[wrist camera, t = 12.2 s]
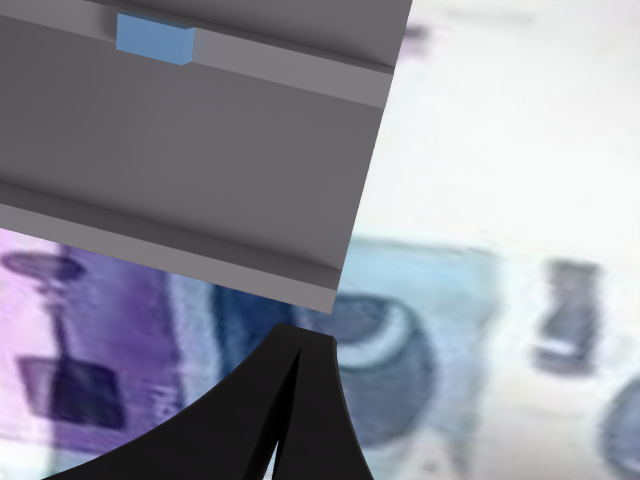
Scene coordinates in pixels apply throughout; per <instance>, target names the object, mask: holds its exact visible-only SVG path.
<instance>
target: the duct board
mask: <svg viewBox="0 0 640 480" xmlns="http://www.w3.org/2000/svg"><path fill="white" fill-rule="evenodd" d="M411 4H412V0H0V228H3V229H7V230H11V231H14V232H18V233H22V234H26V235H30V236H34V237H37V238H41V239H45V240H49V241H53V242H57V243H60V244H64V245H68V246H72V247H76V248H79V249H83V250H87V251H91V252H95V253H99V254H102V255H106V256H110V257H114V258H118V259H121V260H125V261H129V262H133V263H137V264H141V265H144V266H148V267H152V268H156V269H160V270H163V271H167V272H171V273H175V274H179V275H183V276H186V277H190V278H194V279H198V280H202V281H205V282H209V283H213V284H217V285H221V286H225V287H228V288H232V289H236V290H240V291H244V292H248V293H251V294H255V295H259V296H263V297H267V298H270V299H274V300H278V301H282V302H286V303H290V304H293V305H297V306H301V307H305V308H309V309H312V310H316V311H320V312H324V313H328V314H331V312H332V308H333V304H334V301H335V297H336V293H337V289H338V285H339V280H340V276H341V272H342V268H343V264H344V261H345V257H346V253H347V249H348V245H349V241H350V238H351V234H352V230H353V226H354V222H355V218H356V215H357V211H358V207H359V203H360V199H361V195H362V192H363V188H364V184H365V180H366V176H367V172H368V169H369V165H370V161H371V157H372V153H373V149H374V146H375V142H376V138H377V134H378V130H379V127H380V123H381V119H382V115H383V111H384V109H385V106H386V102H387V98H388V94H389V90H390V86H391V83H392V79H393V75H394V70H395V65H396V61H397V58H398V54H399V50H400V46H401V42H402V38H403V35H404V31H405V27H406V23H407V19H408V15H409V12H410V8H411Z"/></svg>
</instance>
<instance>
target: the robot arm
mask: <svg viewBox="0 0 640 480" xmlns="http://www.w3.org/2000/svg"><path fill="white" fill-rule="evenodd" d="M277 442H278V446H277V452H276V457H275V463H274V469H273V474H272V480H374V479H373V476H372V474H371V472H370V470H369V468H368V465H367V463H366V461H365V458H364V456H363V453H362V451H361V448H360V446H359V443H358V440H357V437H356V434H355V431H354V428H353V425H352V422H351V419H350V416H349V412H348V409H347V405H346V401H345V397H344V393H343V389H342V385H341V380H340V374H339V368H338V361H337V342H336V340H335V338H334V337H333V336H329V335H326V334H322V333H318V332H314V331H310V330H307V329H303V328H299V327H295V326H291V325H288V324H284V323H279V324H277V325H275V326H274V327H273V328H272V330H271V331H270V333H269V334H268V335H267V336H266V338H265V339H264V340H263V341H262V342H261V343H260V344H259V345H258V347H257V348H256V349H255V350H254V351H253V352H252V353H251V354H250V355H249V356H248V357H247V358H246V359H245V360H244V361H243V362H242V363H241V364H240V365H238V366H237V367H236V368H235V369H234V370H233V371H232V372H231V373H230V374H229V375H228V376H226V377H225V378H224V379H223V380H222V381H220V382H219V383H218V384H217V385H216V386H214V387H213V388H212V389H211V390H210V391H208V392H207V393H206V394H205V395H203V396H202V397H201V398H199V399H198V400H197V401H195V402H194V403H192V404H191V405H190V406H188V407H187V408H185V409H184V410H182V411H181V412H179V413H178V414H176V415H175V416H173V417H172V418H170V419H169V420H167V421H165V422H164V423H162V424H160V425H159V426H157V427H155V428H154V429H152V430H150V431H149V432H147V433H145V434H143V435H142V436H140V437H138V438H136V439H134V440H132V441H131V442H129V443H126V444H124V445H122V446H120V447H118V448H116V449H114V450H112V451H110V452H108V453H106V454H104V455H101V456H99V457H97V458H95V459H93V460H91V461H89V462H86V463H84V464H82V465H79V466H77V467H74V468H71V469H68V470H66V471H63V472H60V473H58V474H55V475H52V476H50V477H47V478H44V479H42V480H263V478H264V475H265V473H266V470H267V468H268V465H269V463H270V460H271V457H272V455H273V452H274V450H275V447H276V445H277Z"/></svg>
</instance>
